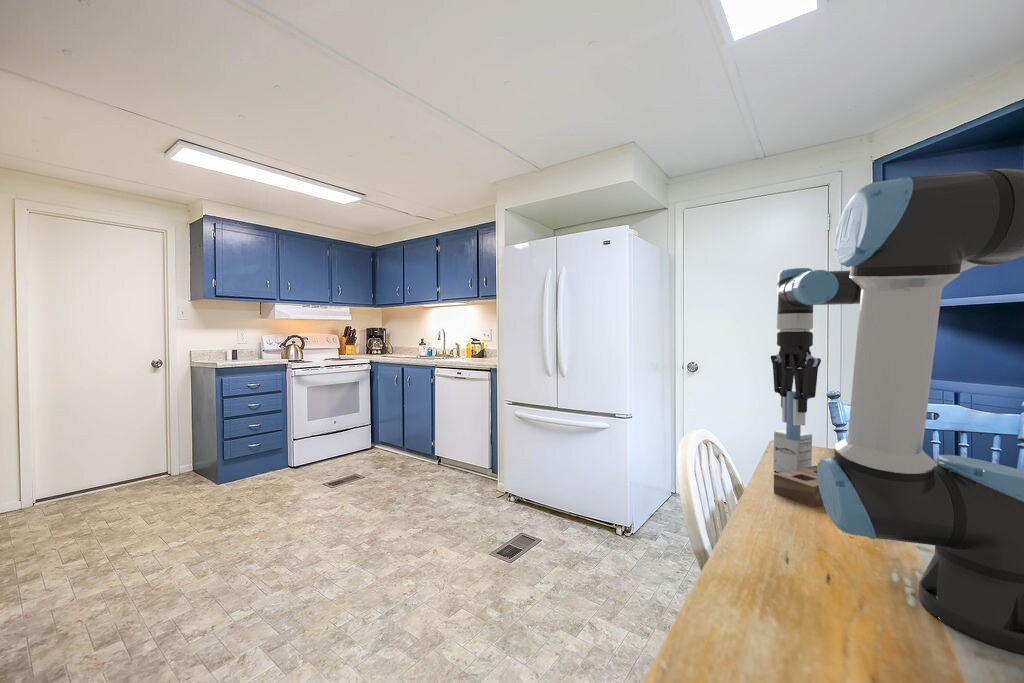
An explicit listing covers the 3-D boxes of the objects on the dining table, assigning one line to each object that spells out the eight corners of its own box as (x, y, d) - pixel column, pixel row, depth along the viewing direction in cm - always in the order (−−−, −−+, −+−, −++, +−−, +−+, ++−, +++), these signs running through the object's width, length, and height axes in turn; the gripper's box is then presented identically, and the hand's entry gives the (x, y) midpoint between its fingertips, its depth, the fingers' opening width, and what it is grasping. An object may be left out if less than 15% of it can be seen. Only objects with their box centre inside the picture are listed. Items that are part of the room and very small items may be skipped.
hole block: (813, 506, 102) (813, 486, 102) (773, 492, 112) (774, 473, 112) (856, 495, 110) (856, 476, 109) (816, 482, 119) (816, 465, 119)
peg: (792, 440, 104) (793, 392, 104) (783, 437, 107) (783, 391, 107) (803, 440, 105) (804, 392, 104) (793, 437, 107) (794, 390, 107)
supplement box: (772, 471, 129) (772, 430, 128) (787, 468, 132) (787, 428, 132) (797, 479, 122) (797, 436, 122) (812, 475, 125) (813, 433, 125)
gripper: (836, 330, 98) (834, 430, 98) (783, 330, 113) (782, 416, 114) (807, 330, 97) (806, 431, 97) (758, 330, 112) (757, 417, 113)
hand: (793, 423), depth 106 cm, fingers closed on peg, 3 cm apart
